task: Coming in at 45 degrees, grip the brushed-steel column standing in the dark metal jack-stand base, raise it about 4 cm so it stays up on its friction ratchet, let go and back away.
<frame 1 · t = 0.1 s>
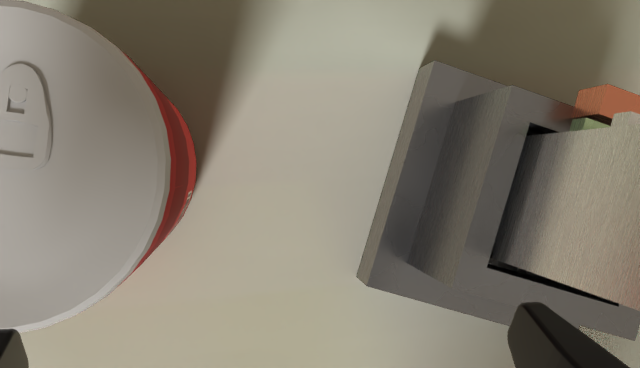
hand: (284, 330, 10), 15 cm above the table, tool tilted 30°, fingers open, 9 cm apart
stand base: (486, 203, 26), on the table
column: (597, 210, 18), point 8 cm above the table, slide at 0.0 cm
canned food: (108, 167, 24), on the table
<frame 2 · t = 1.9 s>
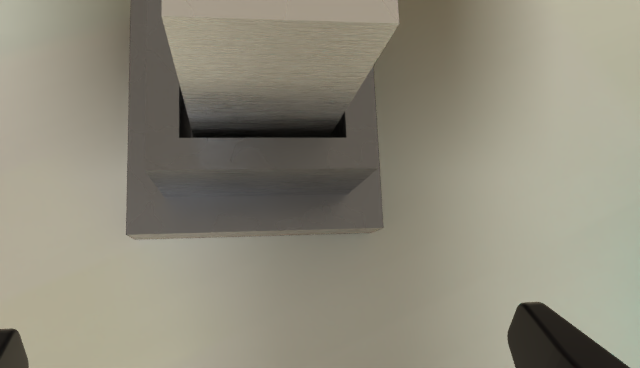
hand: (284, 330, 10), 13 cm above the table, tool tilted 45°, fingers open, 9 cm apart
stand base: (254, 122, 25), on the table
column: (264, 35, 17), point 8 cm above the table, slide at 0.0 cm
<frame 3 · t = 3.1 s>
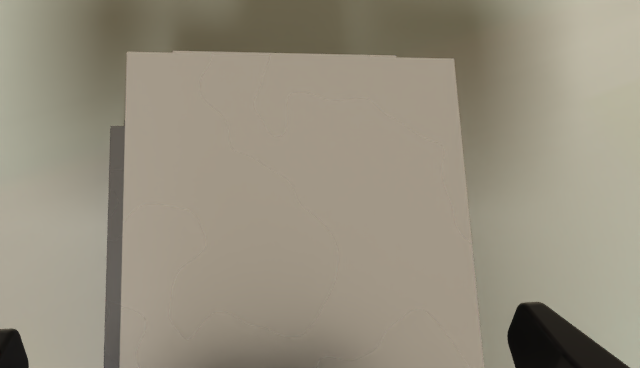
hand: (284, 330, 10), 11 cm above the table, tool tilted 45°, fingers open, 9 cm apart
stand base: (258, 270, 21), on the table
column: (272, 241, 13), point 8 cm above the table, slide at 0.0 cm
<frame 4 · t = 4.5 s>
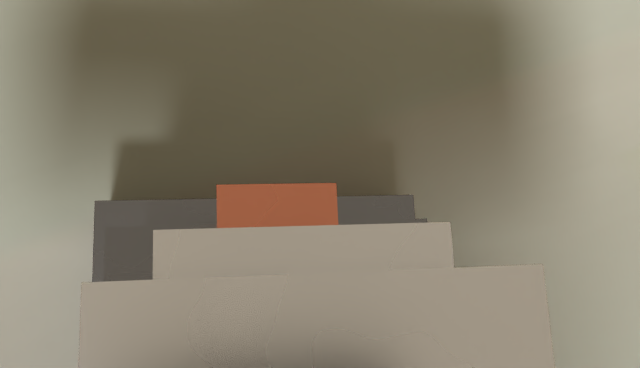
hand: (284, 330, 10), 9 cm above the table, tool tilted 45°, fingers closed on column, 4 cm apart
stand base: (261, 355, 19), on the table
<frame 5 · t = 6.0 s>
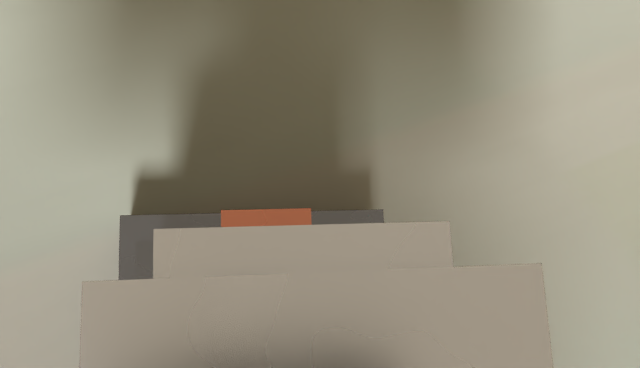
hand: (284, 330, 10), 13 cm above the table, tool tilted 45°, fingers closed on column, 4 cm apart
stand base: (257, 342, 22), on the table
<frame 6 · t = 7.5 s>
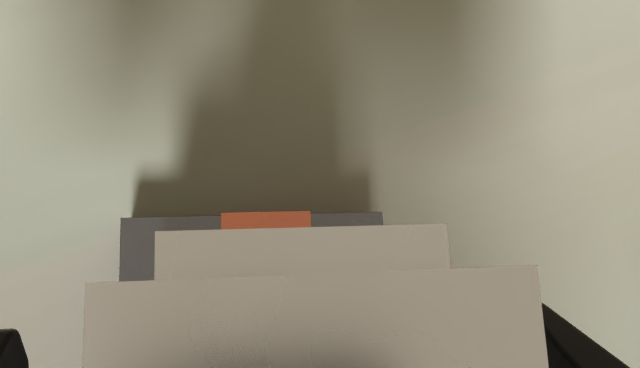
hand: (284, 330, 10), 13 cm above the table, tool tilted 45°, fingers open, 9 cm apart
stand base: (256, 344, 23), on the table
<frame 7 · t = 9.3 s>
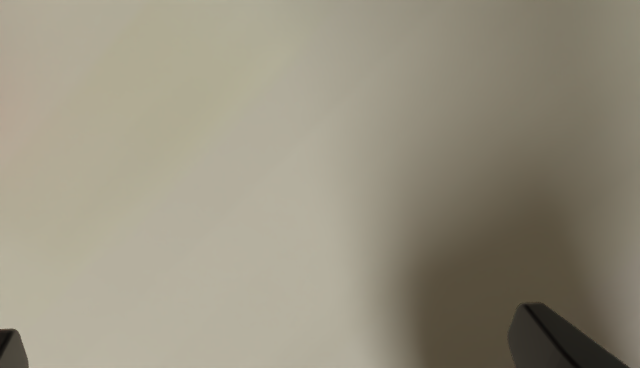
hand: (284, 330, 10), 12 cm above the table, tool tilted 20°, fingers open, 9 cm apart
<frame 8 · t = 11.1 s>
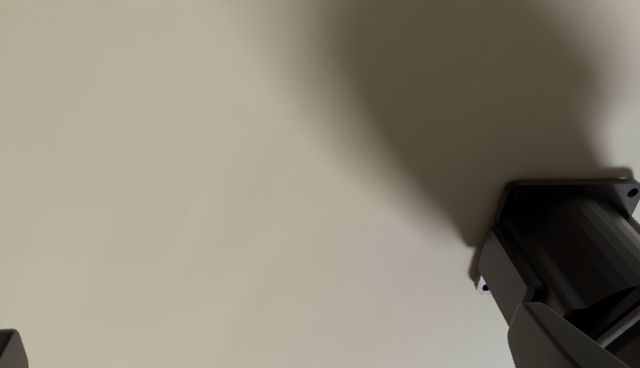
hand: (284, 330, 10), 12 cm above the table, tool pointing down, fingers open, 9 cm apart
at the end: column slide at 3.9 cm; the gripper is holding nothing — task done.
